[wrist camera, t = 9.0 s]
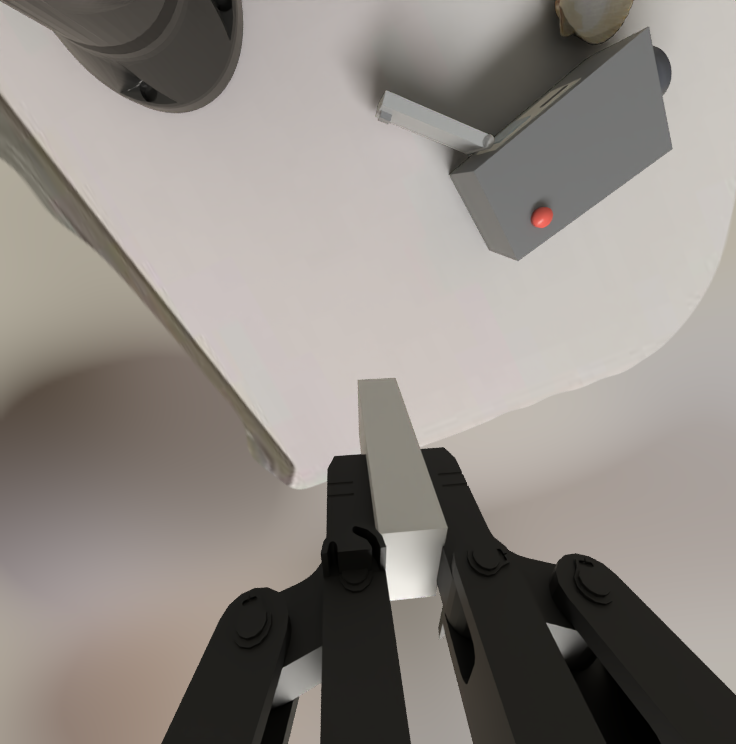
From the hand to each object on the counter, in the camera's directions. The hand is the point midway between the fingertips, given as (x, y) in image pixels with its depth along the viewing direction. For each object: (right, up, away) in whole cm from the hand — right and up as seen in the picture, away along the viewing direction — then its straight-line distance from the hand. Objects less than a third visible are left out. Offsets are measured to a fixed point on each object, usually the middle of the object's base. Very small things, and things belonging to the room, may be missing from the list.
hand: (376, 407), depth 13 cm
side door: (+5, +25, +19) cm, 32 cm away
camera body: (+19, +25, +22) cm, 38 cm away
